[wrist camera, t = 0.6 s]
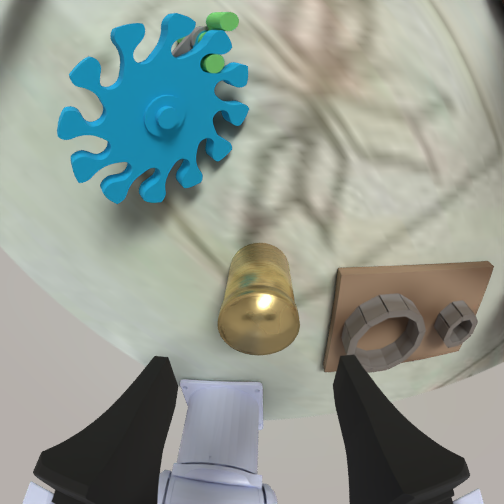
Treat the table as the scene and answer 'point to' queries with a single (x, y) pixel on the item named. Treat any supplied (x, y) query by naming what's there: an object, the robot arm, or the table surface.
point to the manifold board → (404, 312)
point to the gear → (158, 105)
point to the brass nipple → (259, 302)
